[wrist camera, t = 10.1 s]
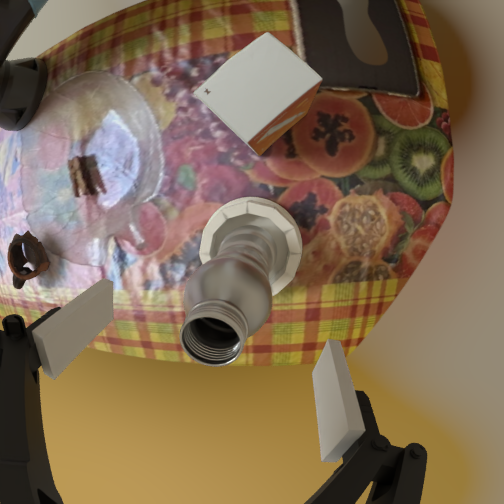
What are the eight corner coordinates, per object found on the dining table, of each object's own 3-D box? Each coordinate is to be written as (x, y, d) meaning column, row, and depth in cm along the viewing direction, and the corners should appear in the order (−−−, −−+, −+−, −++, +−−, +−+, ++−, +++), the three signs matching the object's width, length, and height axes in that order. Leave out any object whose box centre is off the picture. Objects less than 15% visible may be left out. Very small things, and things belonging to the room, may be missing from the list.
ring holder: (214, 186, 33) (207, 188, 29) (313, 211, 32) (317, 214, 29) (197, 278, 36) (189, 288, 33) (286, 301, 36) (287, 313, 33)
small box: (259, 157, 31) (246, 145, 19) (223, 121, 30) (190, 92, 18) (308, 114, 29) (325, 78, 17) (272, 79, 28) (266, 29, 16)
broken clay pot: (24, 219, 38) (8, 225, 31) (61, 237, 42) (50, 246, 35) (11, 274, 38) (-4, 287, 31) (46, 291, 43) (36, 307, 36)
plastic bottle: (287, 258, 33) (292, 363, 14) (239, 281, 35) (195, 393, 16) (262, 211, 32) (233, 267, 13) (213, 237, 34) (135, 315, 14)
